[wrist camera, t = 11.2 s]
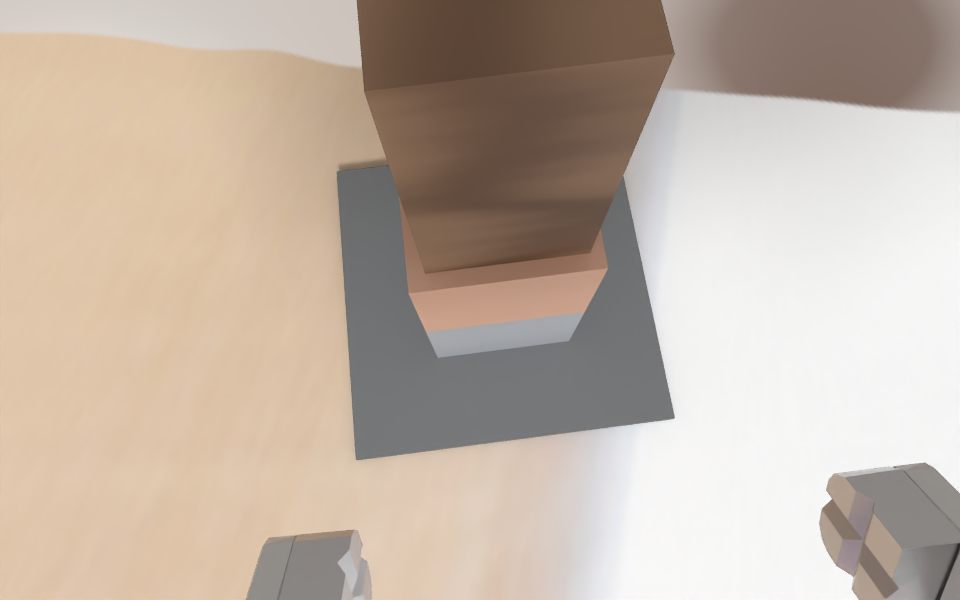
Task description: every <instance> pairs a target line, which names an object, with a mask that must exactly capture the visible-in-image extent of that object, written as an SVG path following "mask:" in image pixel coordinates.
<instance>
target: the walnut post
mask: <svg viewBox="0 0 960 600" xmlns="http://www.w3.org/2000/svg"><path fill="white" fill-rule="evenodd" d="M357 9H358V20H359V33H360V45H361V57H362V69H363V81H364V92H365V95H366V98H367V101H368V104H369V107H370V110H371V113H372V116H373V119H374V122H375V125H376V128H377V131H378V134H379V137H380V140H381V143H382V146H383V149H384V152H385V155H386V158H387V161H388V164H389V167H390V170H391V173H392V176H393V179H394V182H395V185H396V188H397V191H398V194H399V197H400V200H401V203H402V206H403V209H404V212H405V215H406V218H407V221H408V224H409V227H410V230H411V233H412V236H413V239H414V242H415V245H416V248H417V251H418V254H419V257H420V260H421V263H422V266H423V269H424V272H425V274H427V273H435V272H443V271H451V270H459V269H467V268H475V267H483V266H491V265H499V264H507V263H515V262H523V261H531V260H539V259H547V258H555V257H563V256H571V255H579V254H587V253H590V252H591V250H592V248H593V245H594V243H595V240H596V238H597V236H598V233H599V231H600V229H601V226H602V224H603V222H604V219H605V217H606V215H607V212H608V210H609V207H610V205H611V203H612V200H613V198H614V196H615V193H616V191H617V189H618V186H619V184H620V182H621V179H622V177H623V174H624V172H625V170H626V167H627V165H628V163H629V160H630V158H631V156H632V153H633V151H634V149H635V146H636V144H637V141H638V139H639V137H640V134H641V132H642V130H643V127H644V125H645V123H646V120H647V118H648V116H649V113H650V111H651V108H652V106H653V104H654V101H655V99H656V97H657V94H658V92H659V90H660V87H661V85H662V82H663V80H664V78H665V75H666V73H667V71H668V68H669V66H670V64H671V61H672V59H673V57H674V54H675V53H674V49H673V46H672V42H671V38H670V34H669V30H668V26H667V22H666V18H665V14H664V10H663V7H662V2H661V0H357Z"/></svg>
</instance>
